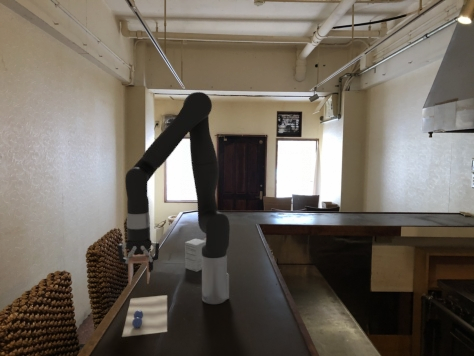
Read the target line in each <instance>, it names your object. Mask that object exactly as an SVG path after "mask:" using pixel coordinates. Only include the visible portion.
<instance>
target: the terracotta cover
mask: <svg viewBox="0 0 474 356" xmlns="http://www.w3.org/2000/svg"><path fill="white" fill-rule="evenodd" d="M142 263H145V264H146V283H147V284H148V285H149V283H150V276H151V272H149V257H146V255H145V254H144V255H140V254H138V255H134V254H133V256H132V258H129V261H128V272H127V275H128V277H127V278H128V286H131V283H132V280H133V276H134V264H142Z"/></svg>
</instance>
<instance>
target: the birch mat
mask: <svg viewBox="0 0 474 356" xmlns="http://www.w3.org/2000/svg"><path fill="white" fill-rule="evenodd" d="M137 310H141V311H142V312H143V318H142V325H141V326H140V327H139V328H135V327H133V325H132V322H133V320H134V313H135V312H136V311H137ZM159 333H168V295H156V296H144V297H134V298H133V297H132V298H130V301H129V306H128V310H127V313H126V317H125V323H124V327H123V331H122V335H121V337H122V338H125V337H134V336H142V335H150V334H151V335H152V334H159Z"/></svg>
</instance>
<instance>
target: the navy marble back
mask: <svg viewBox="0 0 474 356" xmlns="http://www.w3.org/2000/svg"><path fill="white" fill-rule="evenodd" d="M137 317H139V318H141V319H142V318H143V312H142V311H141V310H137V311H136V312H135V313H134V319H135V318H137Z"/></svg>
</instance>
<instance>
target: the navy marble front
mask: <svg viewBox="0 0 474 356" xmlns="http://www.w3.org/2000/svg"><path fill="white" fill-rule="evenodd" d="M132 325H133V327H135V328H139V327H140V326H141V325H142V319H141V318H139V317H137V318H135V319H134V320H133V322H132Z"/></svg>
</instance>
